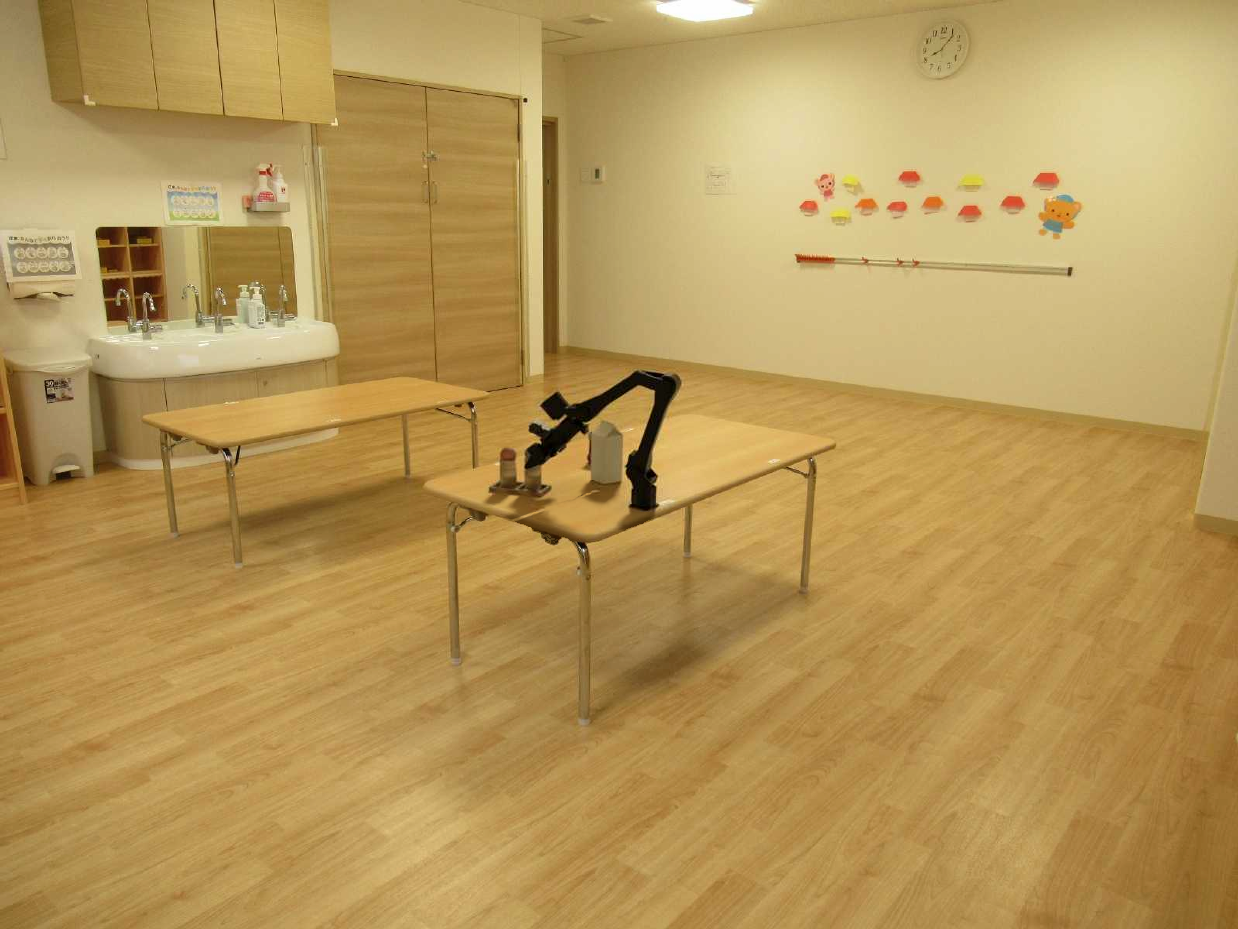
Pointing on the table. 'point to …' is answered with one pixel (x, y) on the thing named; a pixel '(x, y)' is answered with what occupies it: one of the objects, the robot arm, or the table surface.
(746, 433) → the table surface
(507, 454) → the red peg doll
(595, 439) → the milk carton
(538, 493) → the doll tray
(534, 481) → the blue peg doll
